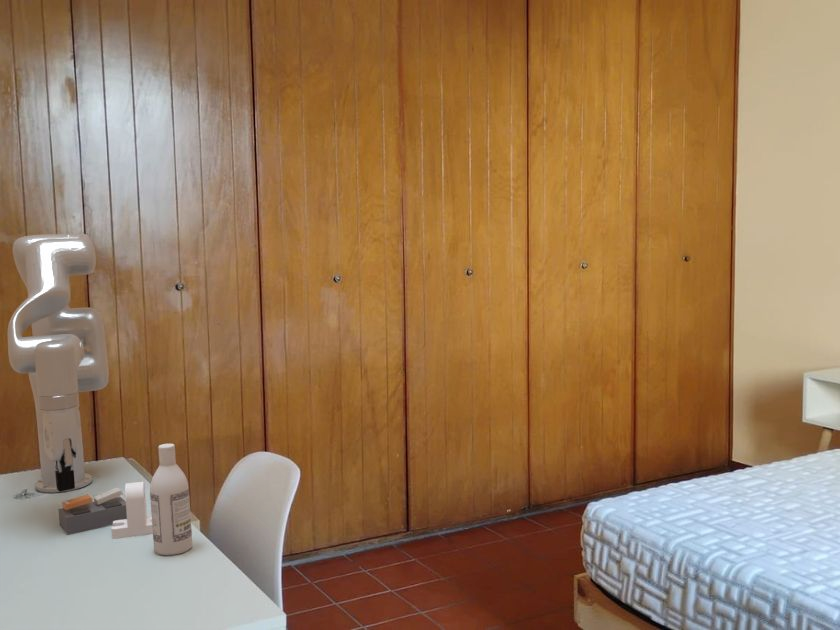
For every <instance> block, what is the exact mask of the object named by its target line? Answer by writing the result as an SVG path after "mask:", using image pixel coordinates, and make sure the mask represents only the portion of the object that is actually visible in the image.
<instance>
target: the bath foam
mask: <svg viewBox="0 0 840 630" xmlns="http://www.w3.org/2000/svg"><path fill="white" fill-rule="evenodd" d="M157 450H158V460H159V465H158V468H157V469H156V470H155V472H154V474H153V476H152V479H151V482H150V486H149V487H150V488H149V496H150V497H149V498H150V514H151V517H152V528H153V534H152V540H153V550H154V552H155V553H156V554H157V555H161V556H175V555H179V554H183V553H185V552H187V551H189V550H190V549H191V548H192V546H193V535H192V534H193V531H192V518H191V517H192V516H191V501H190V489H189V481H188V479H187V477H186V474H185V473H184V472H183V470H182V469H181V468H180V466H179V465H178V464H177V463H176V462H177V459H176V448H175V444H174V443H163V444H159V445H158V447H157Z"/></svg>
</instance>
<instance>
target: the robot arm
mask: <svg viewBox="0 0 840 630" xmlns="http://www.w3.org/2000/svg"><path fill="white" fill-rule="evenodd" d="M12 254H13V260H14V265H15V267H16V269H17V272H18V274H19V276H20V278H21V280H22V282H23V283H24V286H25V287H26V290H27V298H26V299H25V300H23V301H22V303H21V304H20V305H19V306H17V308H16V309H15V310H14V312H13V313H12V315H11V317H10V320H9V321H8V326H7V351H8V353H7V355H8V360H9V361H8V362H9V364H10V366H11V368H12V370H13V371H15V372H16V373H19V374H28V377H29V378H28V379H29V382H30V387H31V391H32V395H33V400H34V406H35V408H34V409H35V414H36V415H35V416H36V427H37V437H38V450H39V461H40V473H41V479H40V480H37V482H35V484H34V486H35V487H34V489H35V490H36V491H38V492H40V493H61V492H62V493H63V492H69V491H74V490H78V489H81V488H83V487H86V486H88V485H89V484H91V483H92V481H93V476H92V475H91V474H89V473H86V472H85V471H86V470H85V460H84V459H85V458H84V447H83V435H82V434H83V433H82V421H81V419H82V418H81V412H80V409H79V408H80V399H79V398H80V397H79V393H84V392H94V391H99V390H103V389H105V388H106V387H107V386H108V384H109V381H110V380H109V379H110V378H109V377H110V371H109V370H110V369H109V362H108V349H107V343H106V342H107V341H106V331H105V325H104V320H103V316H102V314H101V313H100V311H99V310H97V309H96V308H94V307H87V306H86V307H70V306H69V304H70V301H71V297H72V296H71V295H72V294H71V288H70V287H71V286H70V279H69V278H70V277H69V276H83V275H84V276H85V275H90V274H93V272H94V271H95V269H96V266H97V265H96V264H97V255H96V250H95V246H94V243H93V242H92V239H91V237H90V236H89V235H88V234H85V233H55V234H54V233H48V234H45V233H44V234H33V235H32V234H31V235H25V236H20V237H19V238H17V239H16V240H14V242H13V244H12ZM29 327H31V334H32V335H31V336H23V334H24V332H25V331H26V330H27V329H28V328H29ZM85 350H86V351H85Z"/></svg>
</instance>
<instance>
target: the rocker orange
mask: <svg viewBox="0 0 840 630" xmlns="http://www.w3.org/2000/svg"><path fill="white" fill-rule="evenodd" d="M90 502H93V499H92V496H90V494H88V493H87V494H84V495H81V496H77V497H73V498H71V499H68V500H65V501H62V502H61V505H62V508H64V509H65V510H68V509H71V508H75V507H78V506H81V505H84V504H87V503H90Z"/></svg>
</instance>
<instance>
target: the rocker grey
mask: <svg viewBox="0 0 840 630" xmlns="http://www.w3.org/2000/svg"><path fill="white" fill-rule="evenodd" d="M123 494H124V493H123V491H122V489H121V488H119V486H117V487H114V488H112V489H110V490H107V491H105V492H101V493H99V494H97V495H95V496H93V500H94V501H95V502H96V503H97V504H98V505H99V504H101V503H103V502H106V501H108V500H111V499H113V498H115V497H119V496H120V497H121V496H122V495H123ZM94 501H93V502H94Z"/></svg>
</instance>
